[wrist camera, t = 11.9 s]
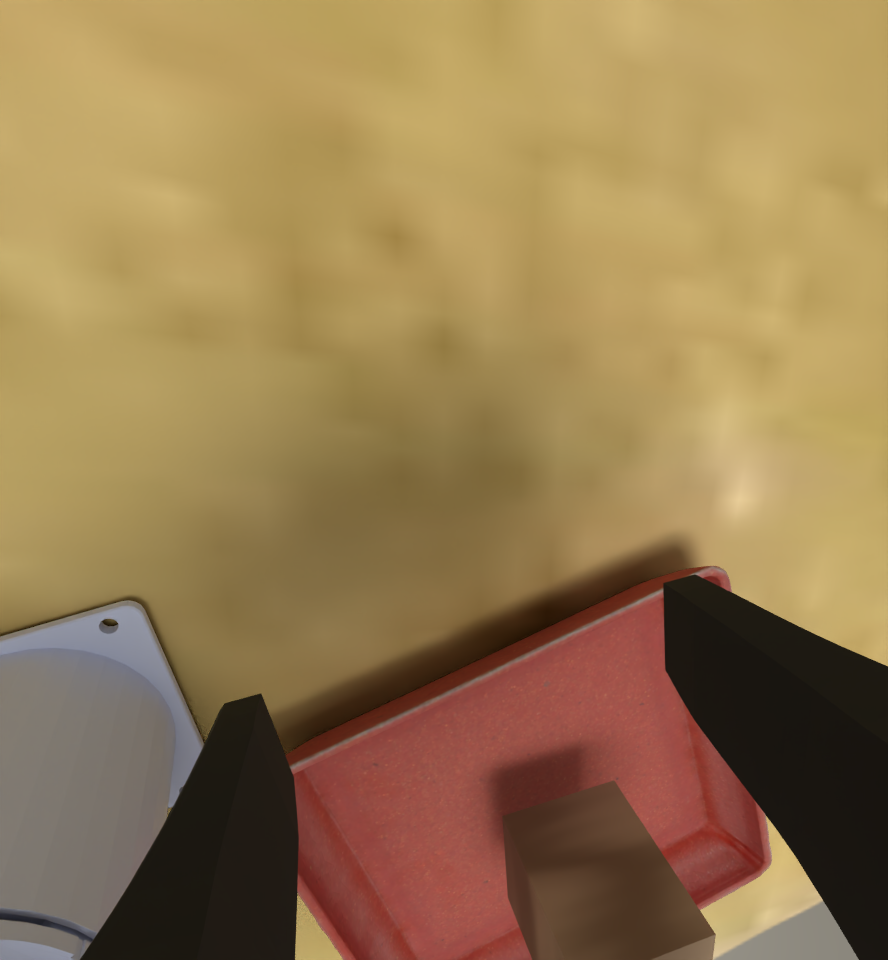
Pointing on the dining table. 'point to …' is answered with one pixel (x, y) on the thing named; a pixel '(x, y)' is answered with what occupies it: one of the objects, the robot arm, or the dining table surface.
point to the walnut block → (597, 884)
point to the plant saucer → (512, 785)
